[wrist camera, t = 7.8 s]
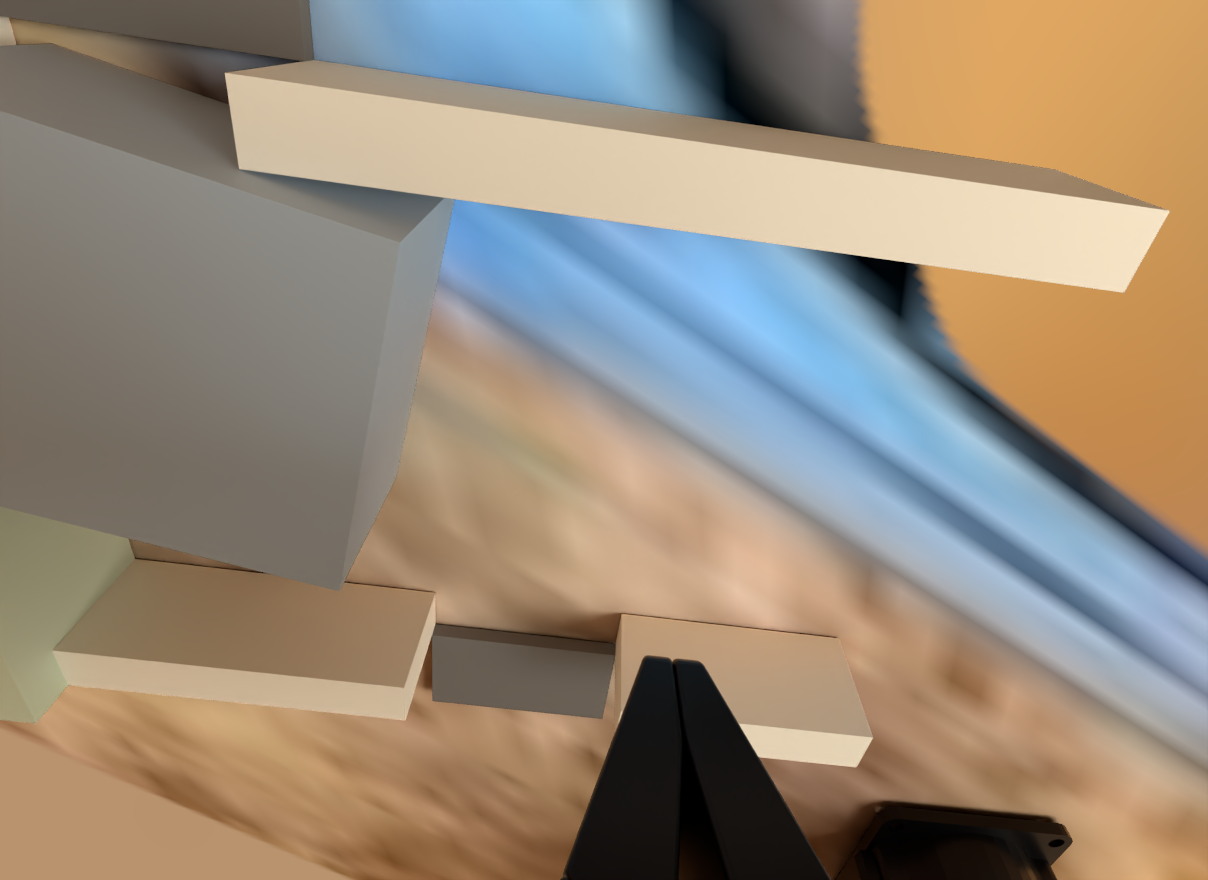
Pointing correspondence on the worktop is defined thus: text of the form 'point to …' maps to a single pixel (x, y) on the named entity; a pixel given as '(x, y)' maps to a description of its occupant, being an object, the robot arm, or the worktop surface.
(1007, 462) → the worktop surface
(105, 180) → the slate block
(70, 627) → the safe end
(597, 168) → the trap lane
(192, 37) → the block
